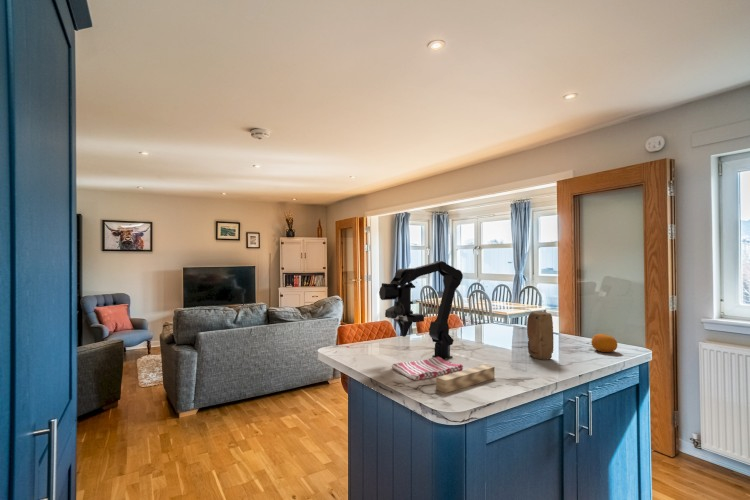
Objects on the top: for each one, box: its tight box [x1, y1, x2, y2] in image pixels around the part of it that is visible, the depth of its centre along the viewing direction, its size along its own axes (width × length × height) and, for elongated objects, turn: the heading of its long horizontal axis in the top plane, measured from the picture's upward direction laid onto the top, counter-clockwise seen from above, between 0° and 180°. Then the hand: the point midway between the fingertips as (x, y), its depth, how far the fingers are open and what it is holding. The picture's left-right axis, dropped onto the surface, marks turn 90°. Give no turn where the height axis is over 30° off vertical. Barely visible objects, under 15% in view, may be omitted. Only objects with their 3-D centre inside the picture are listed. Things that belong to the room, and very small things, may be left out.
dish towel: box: [391, 357, 464, 381], centre depth 146 cm, size 17×23×4 cm
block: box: [526, 310, 554, 361], centre depth 166 cm, size 11×8×20 cm
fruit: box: [591, 333, 618, 353], centre depth 177 cm, size 10×10×8 cm
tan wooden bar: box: [435, 364, 496, 394], centre depth 130 cm, size 26×4×4 cm, turn 127°
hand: (404, 336), depth 157 cm, fingers closed
